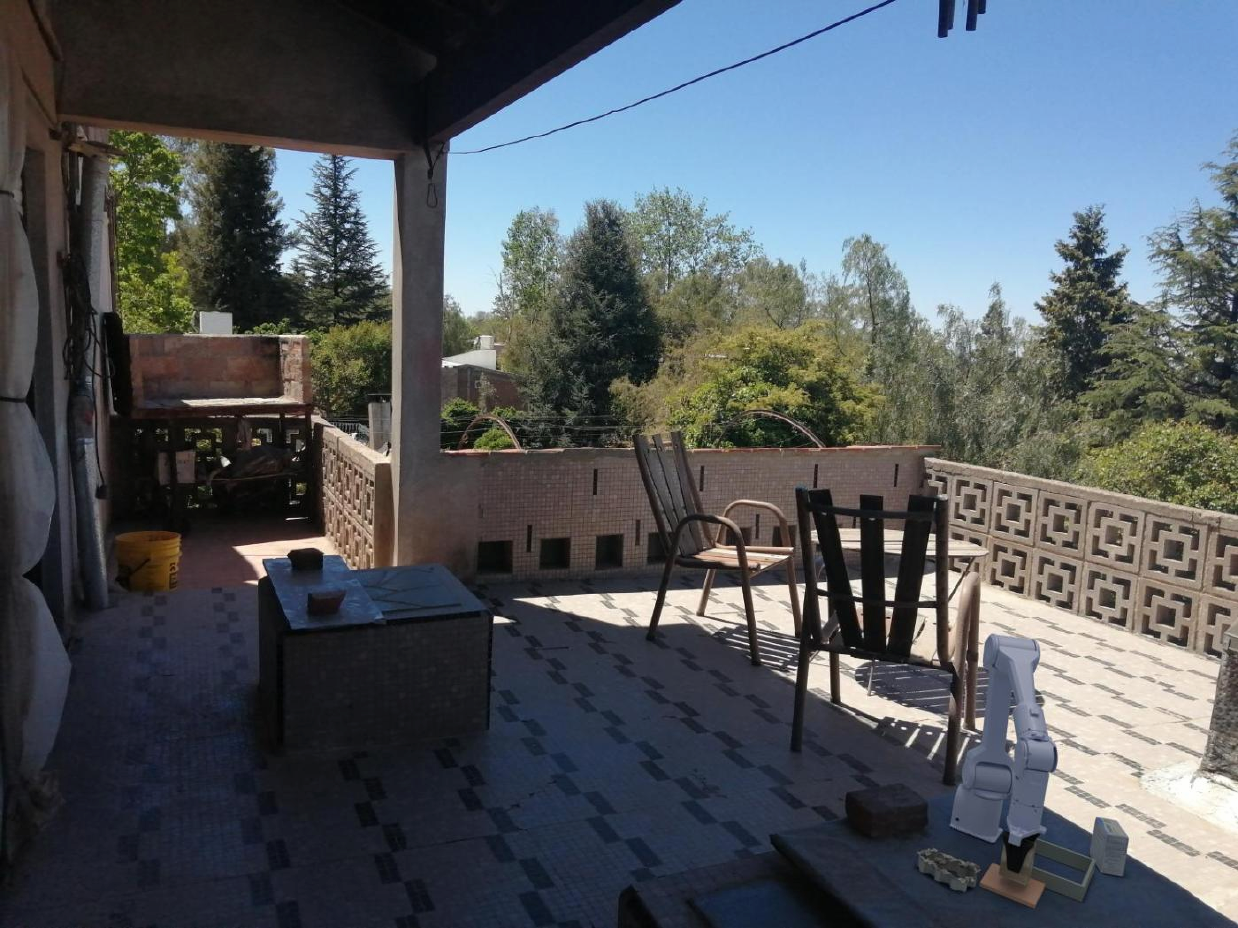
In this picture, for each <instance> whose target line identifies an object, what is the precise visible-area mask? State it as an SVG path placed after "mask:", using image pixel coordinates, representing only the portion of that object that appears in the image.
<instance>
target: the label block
mask: <svg viewBox="0 0 1238 928" xmlns="http://www.w3.org/2000/svg"><path fill="white" fill-rule="evenodd" d="M1027 841H1028V840H1027ZM1030 842H1031V841H1030ZM1032 843H1033V842H1032ZM1035 849H1036V843H1035V844H1034V846H1033V847H1032V849H1031V850H1030V851H1029V852H1028V853H1027V855H1026V857H1025V860H1024V863H1023V866H1022V868H1021V870H1020V872H1019V874H1017V873H1015V872H1012V871H1010V870H1008V869H1007V858H1006V848H1005V844H1004V843H1003V846H1002V850H1001V854H1000V860H999V866H1000V869H999V875H1000V876H1003V877H1005V878H1008V879H1010V880H1013V881H1015V882H1018V883H1020V884H1023V885H1025V886H1026V884H1027V883H1028V881H1029V879H1030V877H1031V872H1032V866H1033V865H1034V859H1035V854H1036V853H1035Z"/></svg>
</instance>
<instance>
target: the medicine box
mask: <svg viewBox="0 0 1238 928" xmlns="http://www.w3.org/2000/svg"><path fill="white" fill-rule="evenodd" d="M1090 841H1091V842H1090V845H1089V846H1090V847H1089V852H1088V853H1089V855H1090V858H1093V859H1095V860H1096V862H1095V866H1096V867H1097V868H1098V870H1099V872H1100V873H1102V874H1106V875H1109V876H1110V875H1111V876H1117V877H1121V878H1122V877H1123V876H1124V871H1125V866H1126V865H1125V864H1126V859H1127V855H1128V848H1129V841H1130V837H1129V835H1128V834H1127V833H1126V832H1125V830H1124V828H1123V827H1122V826H1121V824H1120V822H1119V821H1118V820H1117V819H1116V820H1115V819H1111V818H1106V817H1101V816H1100V817H1099V816H1095V818H1094V824H1093V829H1092V836H1091V840H1090Z"/></svg>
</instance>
